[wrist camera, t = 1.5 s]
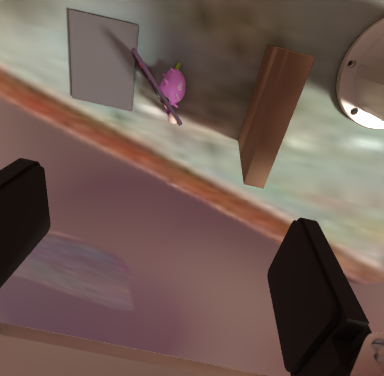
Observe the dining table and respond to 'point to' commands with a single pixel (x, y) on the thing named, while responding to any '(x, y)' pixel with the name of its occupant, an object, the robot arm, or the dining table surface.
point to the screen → (271, 110)
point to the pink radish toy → (165, 87)
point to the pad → (102, 59)
